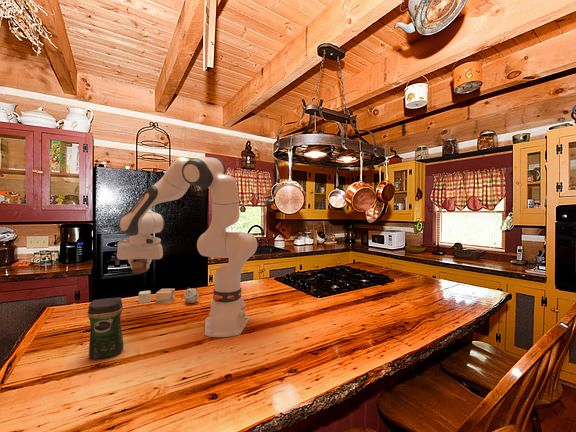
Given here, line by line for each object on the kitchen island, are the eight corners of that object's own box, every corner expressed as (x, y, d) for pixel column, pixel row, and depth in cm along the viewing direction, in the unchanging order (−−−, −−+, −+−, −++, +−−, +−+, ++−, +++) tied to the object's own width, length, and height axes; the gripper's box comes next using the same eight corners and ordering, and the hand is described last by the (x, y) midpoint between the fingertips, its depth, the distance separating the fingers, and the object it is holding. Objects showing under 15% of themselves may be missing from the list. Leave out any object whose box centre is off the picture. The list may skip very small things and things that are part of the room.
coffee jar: (125, 345, 96) (125, 294, 96) (120, 356, 89) (119, 301, 88) (93, 350, 93) (92, 296, 93) (84, 362, 86) (84, 304, 85)
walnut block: (143, 272, 127) (143, 262, 127) (132, 272, 126) (132, 262, 126) (147, 270, 132) (148, 260, 132) (137, 270, 131) (137, 260, 131)
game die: (194, 309, 142) (206, 292, 144) (187, 309, 134) (200, 291, 136) (182, 299, 144) (194, 283, 146) (174, 298, 136) (187, 281, 138)
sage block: (149, 302, 140) (149, 293, 140) (138, 303, 139) (138, 294, 139) (150, 299, 145) (150, 290, 145) (140, 300, 143) (140, 291, 143)
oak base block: (170, 304, 139) (169, 292, 138) (156, 304, 138) (155, 292, 138) (174, 299, 146) (174, 288, 145) (161, 299, 145) (161, 288, 145)
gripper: (113, 240, 125) (113, 270, 125) (158, 240, 126) (158, 269, 126) (121, 239, 131) (121, 267, 132) (164, 239, 133) (164, 267, 133)
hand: (140, 268), depth 129 cm, fingers closed on walnut block, 5 cm apart
